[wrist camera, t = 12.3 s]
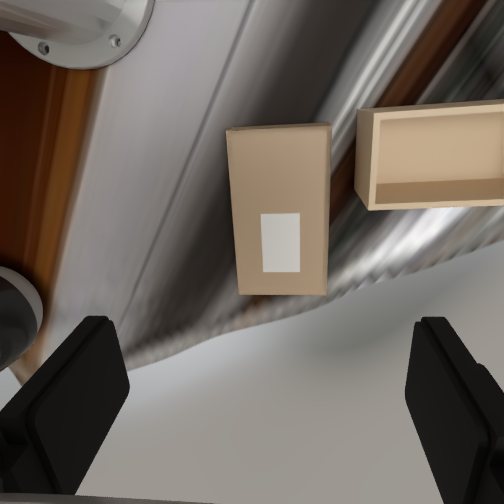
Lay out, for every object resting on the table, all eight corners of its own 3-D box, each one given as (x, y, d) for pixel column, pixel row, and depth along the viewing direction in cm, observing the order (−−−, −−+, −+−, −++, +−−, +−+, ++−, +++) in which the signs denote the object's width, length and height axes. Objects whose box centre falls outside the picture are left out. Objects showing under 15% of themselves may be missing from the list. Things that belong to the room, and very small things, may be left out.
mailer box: (354, 188, 29) (368, 210, 24) (357, 109, 27) (374, 112, 21) (513, 181, 28) (568, 202, 22) (532, 96, 25) (598, 97, 20)
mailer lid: (232, 127, 28) (225, 130, 25) (328, 122, 27) (332, 125, 24) (243, 278, 33) (238, 295, 31) (323, 278, 33) (326, 295, 30)
